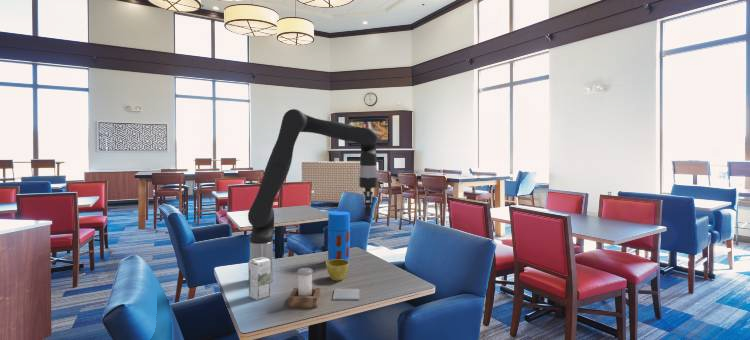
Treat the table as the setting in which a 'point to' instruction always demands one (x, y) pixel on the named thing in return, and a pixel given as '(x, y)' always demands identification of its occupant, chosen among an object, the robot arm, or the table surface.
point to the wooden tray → (304, 299)
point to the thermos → (339, 236)
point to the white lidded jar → (305, 282)
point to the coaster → (346, 294)
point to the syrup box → (259, 278)
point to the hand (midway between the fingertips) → (367, 214)
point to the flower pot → (337, 268)
